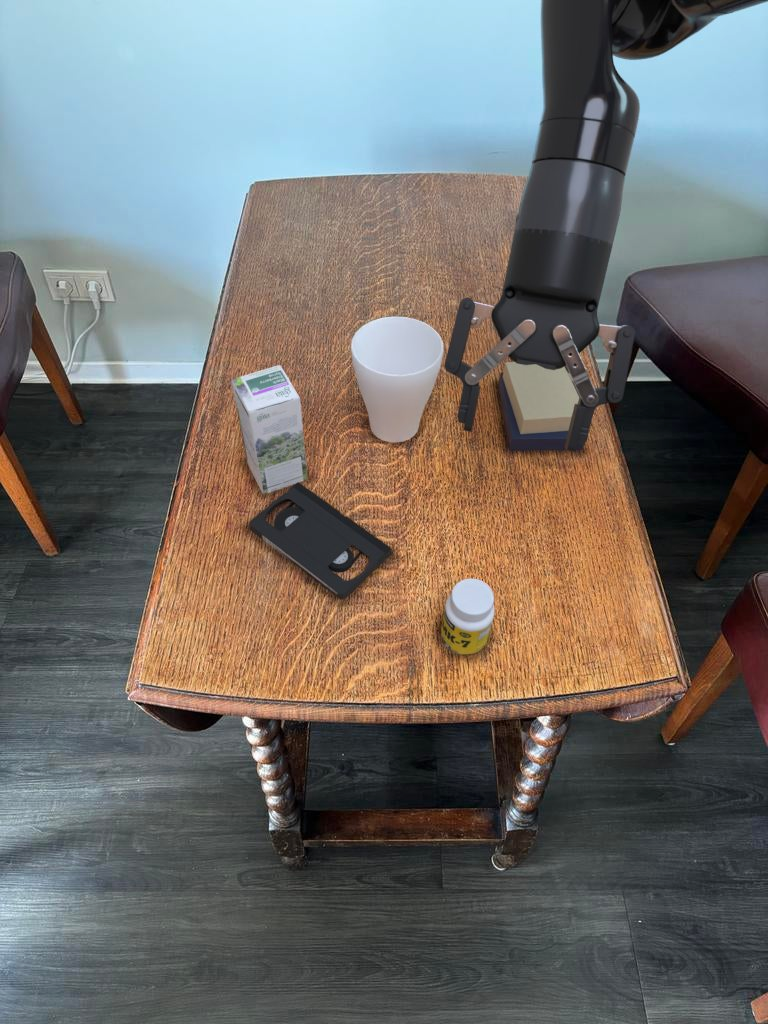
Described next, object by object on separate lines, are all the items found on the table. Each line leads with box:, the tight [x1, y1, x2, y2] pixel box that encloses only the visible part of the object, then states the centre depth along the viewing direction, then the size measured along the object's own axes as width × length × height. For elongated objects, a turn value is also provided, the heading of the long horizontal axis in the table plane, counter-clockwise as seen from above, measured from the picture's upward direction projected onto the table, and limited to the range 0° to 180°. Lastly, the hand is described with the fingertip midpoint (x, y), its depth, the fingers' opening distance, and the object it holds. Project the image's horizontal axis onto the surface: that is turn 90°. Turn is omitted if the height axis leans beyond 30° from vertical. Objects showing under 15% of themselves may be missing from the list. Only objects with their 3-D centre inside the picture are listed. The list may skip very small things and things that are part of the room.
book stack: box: [497, 361, 585, 452], centre depth 91 cm, size 12×9×6 cm
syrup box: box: [230, 364, 308, 495], centre depth 81 cm, size 6×6×14 cm
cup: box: [350, 315, 444, 444], centre depth 87 cm, size 10×10×14 cm
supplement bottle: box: [440, 577, 496, 657], centre depth 71 cm, size 5×5×8 cm
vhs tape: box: [249, 482, 392, 600], centre depth 80 cm, size 14×8×2 cm, turn 49°
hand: (518, 440), depth 60 cm, fingers open, 8 cm apart
